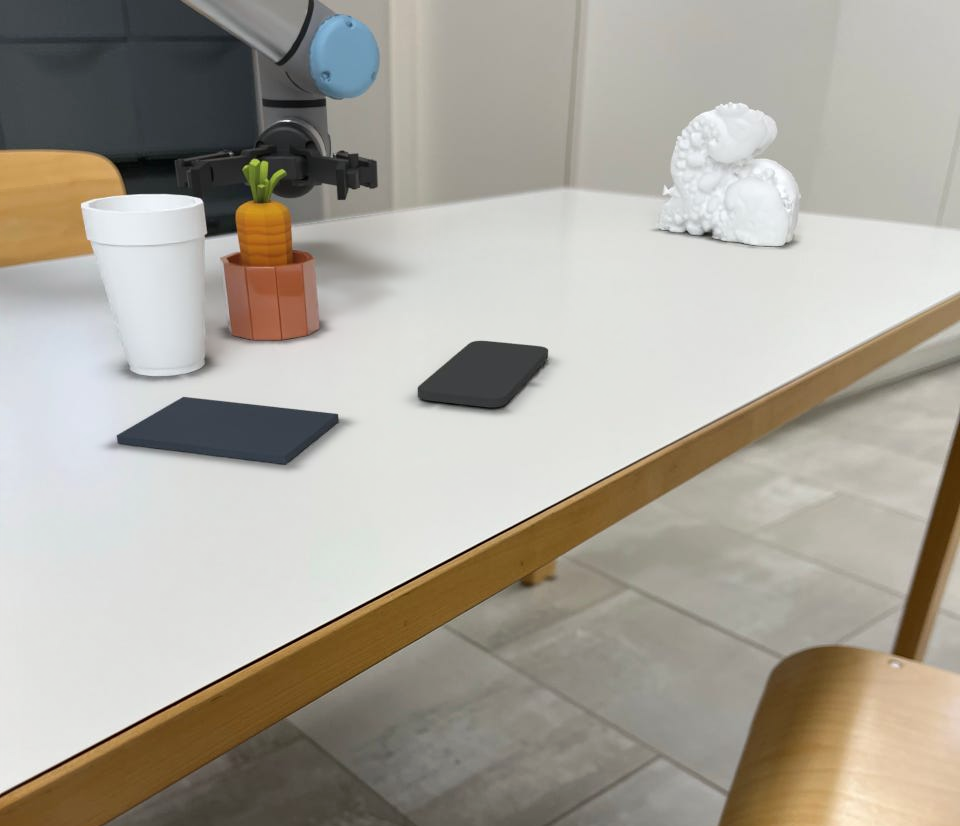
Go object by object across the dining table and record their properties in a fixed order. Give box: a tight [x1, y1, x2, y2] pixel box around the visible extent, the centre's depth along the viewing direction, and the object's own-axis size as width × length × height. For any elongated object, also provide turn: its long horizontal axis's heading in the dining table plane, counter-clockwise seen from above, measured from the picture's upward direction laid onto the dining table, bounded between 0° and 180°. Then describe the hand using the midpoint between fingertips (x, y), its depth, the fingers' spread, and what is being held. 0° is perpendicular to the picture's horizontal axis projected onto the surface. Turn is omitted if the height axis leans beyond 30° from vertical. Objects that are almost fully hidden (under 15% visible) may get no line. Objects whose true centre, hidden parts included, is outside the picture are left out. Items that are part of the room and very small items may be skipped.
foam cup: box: [80, 193, 208, 377], centre depth 85 cm, size 10×9×13 cm
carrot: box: [235, 159, 293, 266], centre depth 95 cm, size 5×5×15 cm
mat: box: [116, 396, 340, 465], centre depth 74 cm, size 13×9×1 cm
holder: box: [219, 249, 320, 341], centre depth 97 cm, size 8×9×6 cm
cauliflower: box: [657, 101, 802, 247], centre depth 139 cm, size 19×20×20 cm
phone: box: [417, 340, 549, 408], centre depth 85 cm, size 7×1×15 cm
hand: (268, 184), depth 97 cm, fingers open, 13 cm apart
